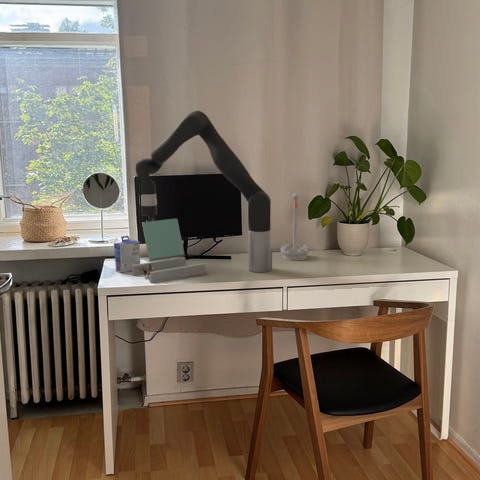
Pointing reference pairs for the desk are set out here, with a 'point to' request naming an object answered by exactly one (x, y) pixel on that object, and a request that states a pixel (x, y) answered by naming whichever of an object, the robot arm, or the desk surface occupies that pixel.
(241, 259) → the desk surface
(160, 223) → the cover
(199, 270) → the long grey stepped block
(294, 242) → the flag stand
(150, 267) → the eagle figurine
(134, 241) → the ink cartridge box
